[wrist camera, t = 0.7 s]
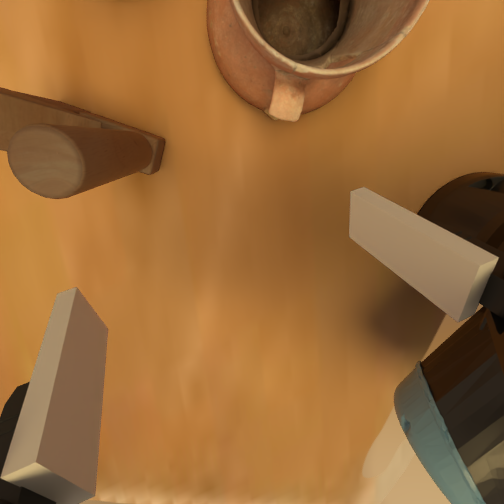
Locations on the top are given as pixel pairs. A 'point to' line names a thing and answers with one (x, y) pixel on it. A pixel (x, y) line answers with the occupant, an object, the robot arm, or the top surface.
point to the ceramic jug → (302, 47)
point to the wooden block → (70, 146)
